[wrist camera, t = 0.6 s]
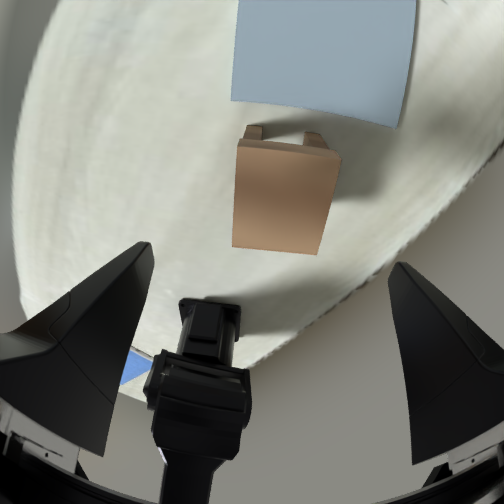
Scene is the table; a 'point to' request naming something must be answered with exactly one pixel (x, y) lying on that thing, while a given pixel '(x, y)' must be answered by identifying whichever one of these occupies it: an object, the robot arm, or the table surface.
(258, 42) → the slate mat
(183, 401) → the robot arm
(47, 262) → the table surface
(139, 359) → the tablet computer
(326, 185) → the walnut stool
